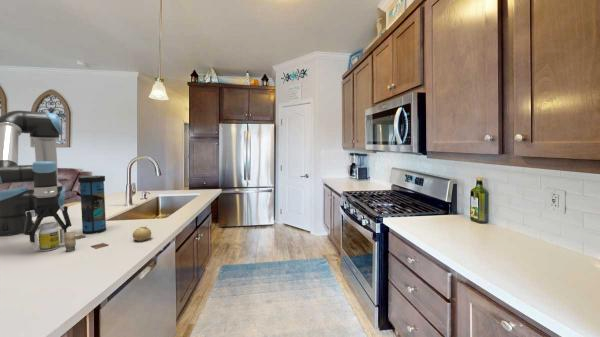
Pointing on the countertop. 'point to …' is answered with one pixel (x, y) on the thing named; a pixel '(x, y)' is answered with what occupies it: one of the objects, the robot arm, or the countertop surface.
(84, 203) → the advertising column
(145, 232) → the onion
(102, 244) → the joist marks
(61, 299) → the countertop surface
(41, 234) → the pill bottle
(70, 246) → the tan wooden cylinder
